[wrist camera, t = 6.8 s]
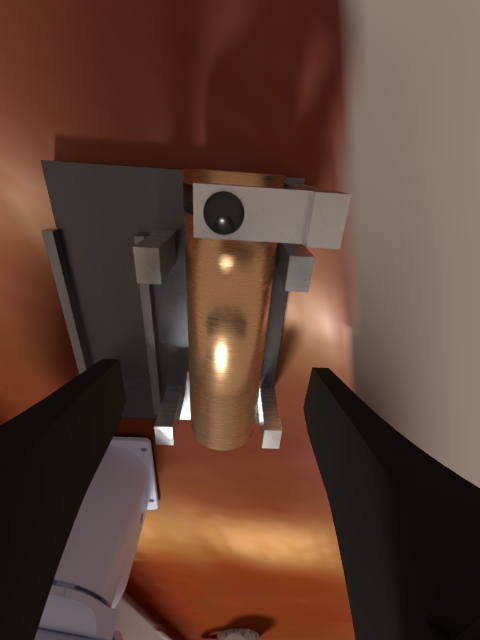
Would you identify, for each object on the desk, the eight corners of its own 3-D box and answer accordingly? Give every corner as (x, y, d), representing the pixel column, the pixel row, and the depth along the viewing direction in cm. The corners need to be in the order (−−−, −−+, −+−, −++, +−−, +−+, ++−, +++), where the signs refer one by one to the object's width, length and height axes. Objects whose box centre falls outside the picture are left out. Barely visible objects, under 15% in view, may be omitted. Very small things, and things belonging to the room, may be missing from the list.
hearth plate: (266, 412, 21) (268, 428, 20) (101, 406, 21) (91, 421, 20) (300, 177, 14) (307, 178, 13) (43, 160, 13) (22, 159, 12)
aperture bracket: (299, 218, 14) (339, 249, 8) (209, 212, 14) (191, 240, 8) (304, 184, 13) (351, 194, 8) (210, 177, 13) (190, 183, 8)
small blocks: (272, 405, 20) (278, 448, 17) (168, 401, 19) (156, 444, 16) (297, 238, 14) (314, 257, 11) (155, 230, 14) (132, 246, 11)
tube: (248, 397, 20) (261, 447, 16) (190, 401, 19) (190, 454, 16) (271, 173, 13) (301, 176, 10) (183, 167, 13) (180, 168, 9)
